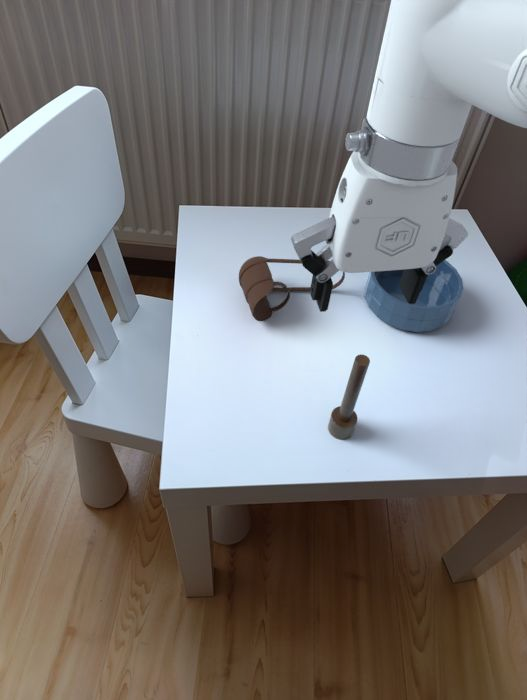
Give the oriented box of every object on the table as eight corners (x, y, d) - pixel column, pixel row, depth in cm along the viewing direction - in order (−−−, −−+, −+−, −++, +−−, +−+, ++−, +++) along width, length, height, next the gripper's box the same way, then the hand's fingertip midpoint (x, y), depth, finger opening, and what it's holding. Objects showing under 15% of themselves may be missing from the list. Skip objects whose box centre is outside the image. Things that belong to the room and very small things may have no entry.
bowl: (459, 292, 96) (471, 266, 92) (439, 347, 87) (451, 321, 82) (379, 264, 100) (387, 237, 95) (351, 314, 91) (358, 287, 86)
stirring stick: (356, 424, 76) (381, 355, 65) (348, 443, 74) (372, 376, 62) (333, 414, 77) (353, 344, 65) (323, 432, 74) (343, 364, 63)
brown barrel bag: (249, 328, 87) (251, 297, 82) (233, 281, 94) (235, 249, 89) (352, 314, 91) (361, 283, 85) (330, 269, 98) (336, 239, 93)
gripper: (316, 174, 40) (292, 331, 53) (525, 166, 43) (453, 317, 56) (294, 126, 45) (276, 281, 58) (483, 121, 48) (426, 269, 60)
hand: (363, 298), depth 57 cm, fingers open, 9 cm apart
